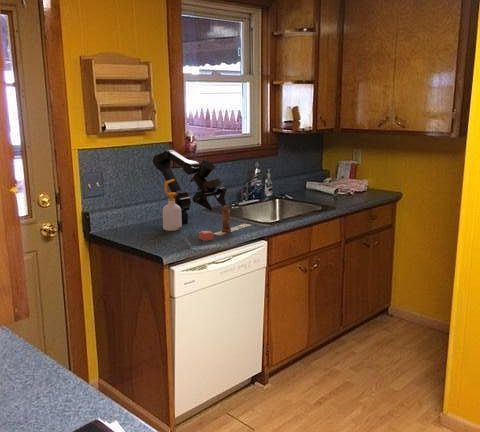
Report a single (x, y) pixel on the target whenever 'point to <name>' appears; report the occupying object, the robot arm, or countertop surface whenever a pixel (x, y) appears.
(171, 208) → the soap bottle
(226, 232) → the track board
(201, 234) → the red cube
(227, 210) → the pawn
